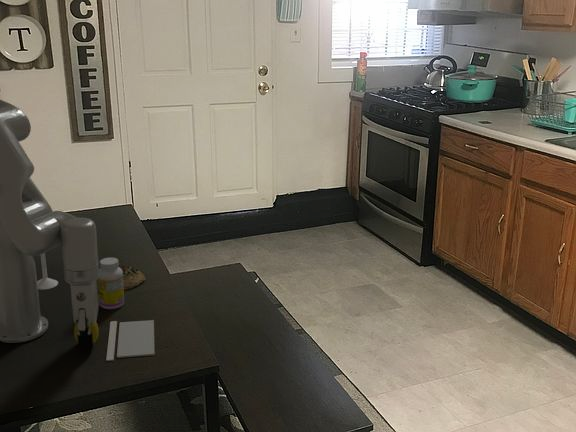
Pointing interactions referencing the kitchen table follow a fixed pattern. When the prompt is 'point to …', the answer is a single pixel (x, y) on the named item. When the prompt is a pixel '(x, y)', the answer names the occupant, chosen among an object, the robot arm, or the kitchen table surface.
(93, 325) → the lemon
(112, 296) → the supplement bottle
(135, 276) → the bread roll
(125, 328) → the mat
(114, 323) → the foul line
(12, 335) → the robot arm
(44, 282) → the champagne flute
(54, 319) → the kitchen table surface
